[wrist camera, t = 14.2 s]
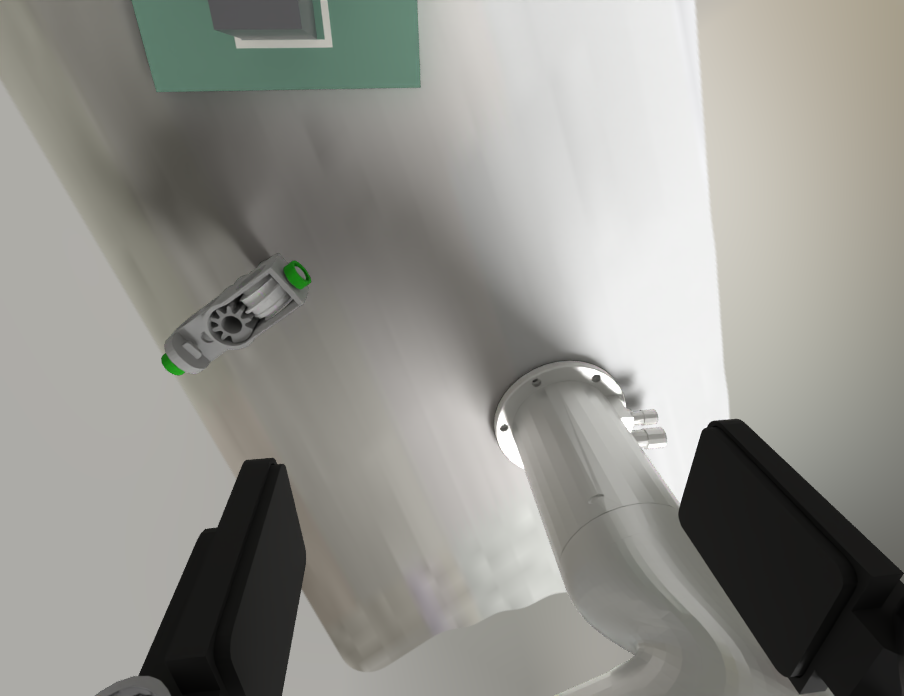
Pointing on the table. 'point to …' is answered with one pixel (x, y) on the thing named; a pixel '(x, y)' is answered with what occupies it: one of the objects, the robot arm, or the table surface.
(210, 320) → the mechanical component
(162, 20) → the board
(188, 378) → the table surface
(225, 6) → the block
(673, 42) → the table surface
